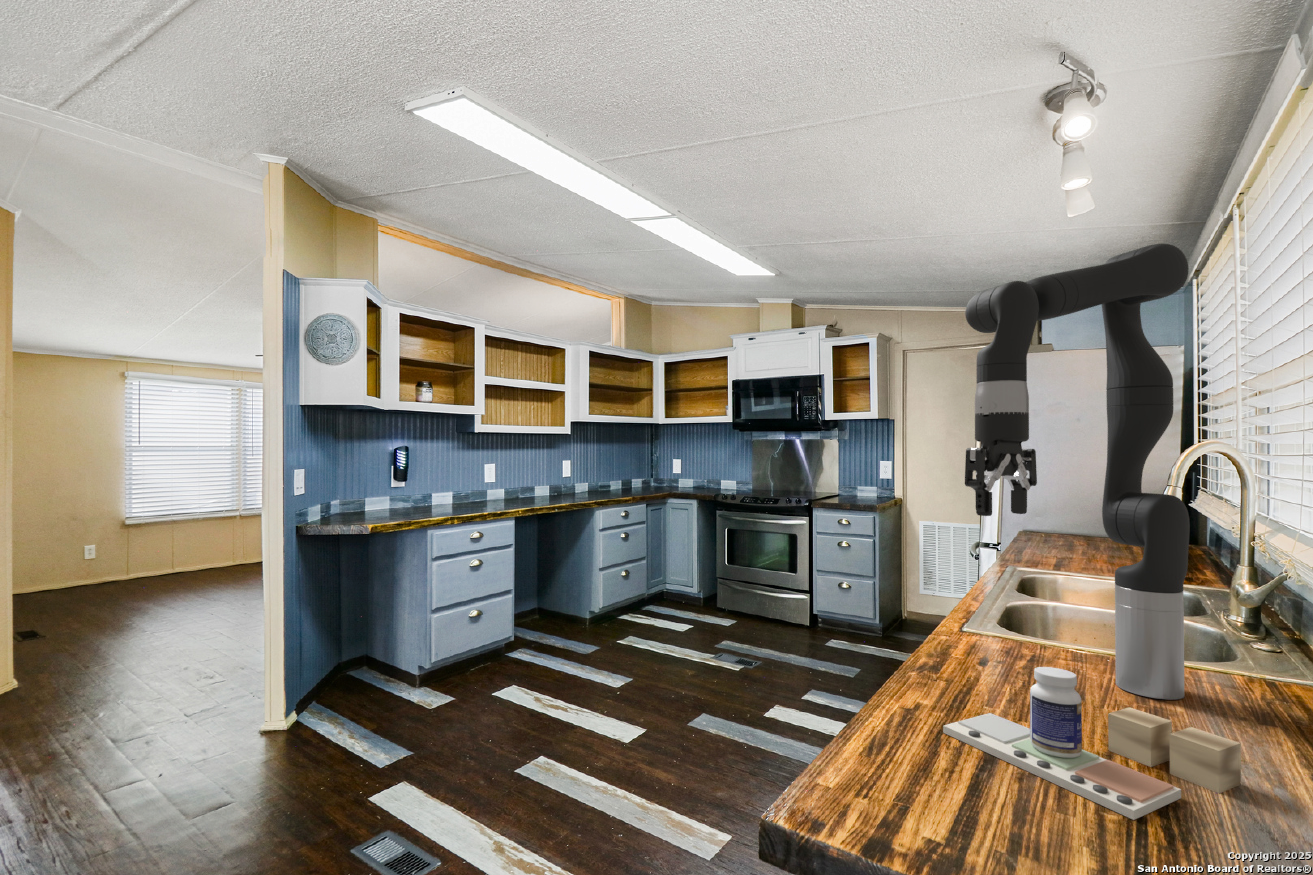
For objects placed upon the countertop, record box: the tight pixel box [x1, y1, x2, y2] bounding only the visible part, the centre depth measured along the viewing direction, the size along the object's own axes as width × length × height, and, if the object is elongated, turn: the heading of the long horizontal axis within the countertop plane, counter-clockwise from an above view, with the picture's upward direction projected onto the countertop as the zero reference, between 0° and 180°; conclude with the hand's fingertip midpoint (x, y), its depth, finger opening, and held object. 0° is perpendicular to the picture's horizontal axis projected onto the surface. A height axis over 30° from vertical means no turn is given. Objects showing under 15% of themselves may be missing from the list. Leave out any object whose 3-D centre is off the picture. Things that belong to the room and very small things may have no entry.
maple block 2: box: [1169, 726, 1242, 794], centre depth 78 cm, size 5×5×5 cm
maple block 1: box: [1107, 706, 1173, 768], centre depth 84 cm, size 5×5×5 cm
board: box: [942, 712, 1182, 821], centre depth 82 cm, size 10×24×1 cm, turn 27°
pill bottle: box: [1029, 666, 1083, 758], centre depth 83 cm, size 6×6×10 cm
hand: (1001, 514), depth 100 cm, fingers open, 8 cm apart
